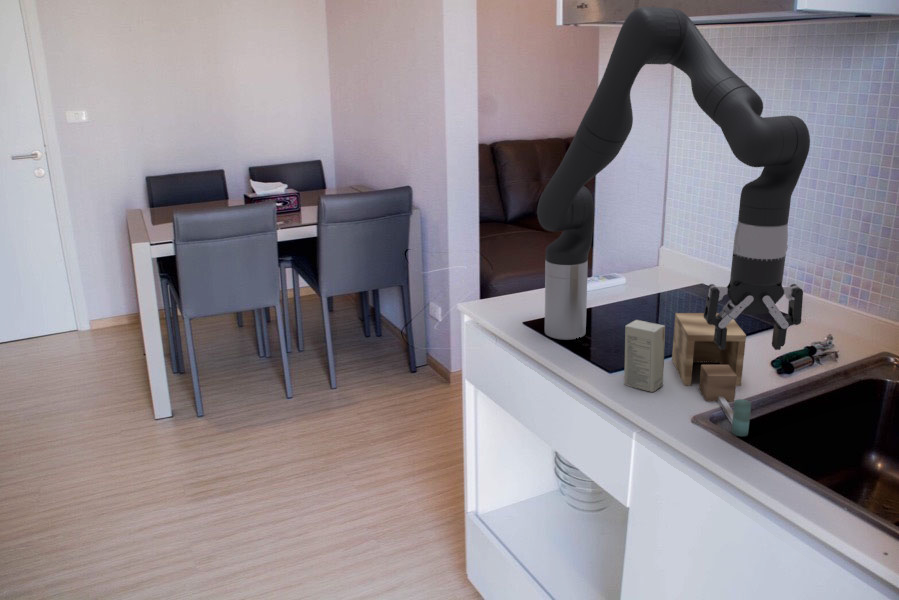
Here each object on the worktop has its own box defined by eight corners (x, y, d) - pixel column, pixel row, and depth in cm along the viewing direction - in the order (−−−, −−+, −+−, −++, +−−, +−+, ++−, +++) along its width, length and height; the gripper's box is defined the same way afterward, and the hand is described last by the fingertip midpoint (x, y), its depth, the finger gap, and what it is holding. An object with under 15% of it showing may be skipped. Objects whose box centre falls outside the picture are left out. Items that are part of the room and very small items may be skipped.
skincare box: (663, 385, 142) (667, 325, 138) (652, 393, 139) (656, 332, 135) (633, 376, 146) (636, 318, 142) (621, 384, 143) (624, 324, 139)
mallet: (699, 389, 140) (701, 362, 138) (726, 389, 140) (728, 362, 138) (726, 436, 123) (729, 406, 121) (757, 436, 123) (761, 406, 121)
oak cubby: (671, 359, 153) (675, 313, 150) (724, 360, 152) (728, 313, 149) (684, 385, 142) (688, 335, 138) (740, 385, 141) (746, 335, 138)
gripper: (798, 243, 117) (786, 339, 122) (705, 244, 118) (697, 338, 124) (817, 257, 110) (802, 358, 115) (717, 257, 111) (708, 357, 117)
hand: (748, 348), depth 119 cm, fingers open, 8 cm apart
